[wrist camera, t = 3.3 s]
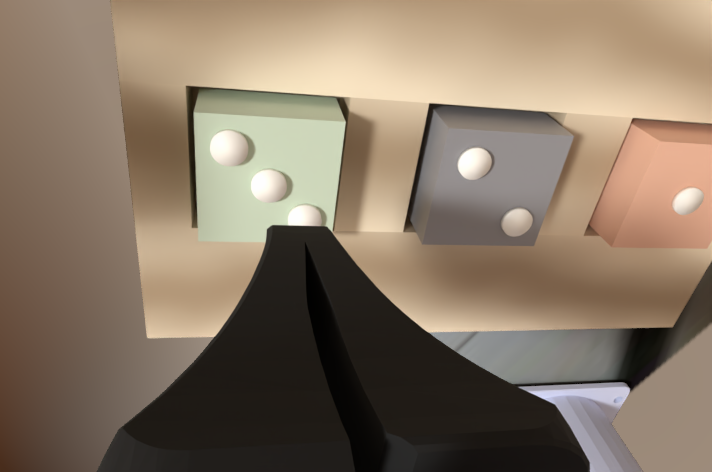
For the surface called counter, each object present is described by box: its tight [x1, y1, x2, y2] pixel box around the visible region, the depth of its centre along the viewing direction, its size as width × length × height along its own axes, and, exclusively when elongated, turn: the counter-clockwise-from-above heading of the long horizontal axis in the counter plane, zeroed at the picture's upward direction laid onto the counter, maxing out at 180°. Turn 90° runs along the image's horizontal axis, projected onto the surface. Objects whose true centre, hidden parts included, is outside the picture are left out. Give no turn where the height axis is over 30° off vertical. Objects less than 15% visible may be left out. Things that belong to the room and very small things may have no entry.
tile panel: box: [110, 0, 712, 338], centre depth 19 cm, size 14×22×2 cm, turn 83°
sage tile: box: [194, 88, 346, 242], centre depth 16 cm, size 4×4×2 cm
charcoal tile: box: [407, 104, 574, 246], centre depth 17 cm, size 4×4×2 cm
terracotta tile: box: [589, 119, 712, 249], centre depth 19 cm, size 4×4×2 cm
